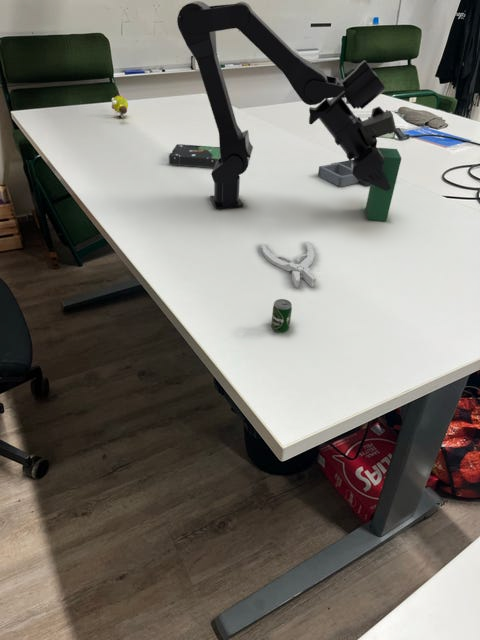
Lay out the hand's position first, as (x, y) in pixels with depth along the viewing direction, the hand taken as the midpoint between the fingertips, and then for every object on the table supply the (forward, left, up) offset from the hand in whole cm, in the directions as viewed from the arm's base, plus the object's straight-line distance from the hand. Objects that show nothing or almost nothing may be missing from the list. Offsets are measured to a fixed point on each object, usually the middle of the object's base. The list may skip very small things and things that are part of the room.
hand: (386, 181), depth 103 cm
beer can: (-34, +36, -8) cm, 50 cm away
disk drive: (+42, +32, -8) cm, 54 cm away
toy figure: (+90, +49, -8) cm, 103 cm away
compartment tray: (+23, -5, -8) cm, 25 cm away
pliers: (-17, +27, -8) cm, 33 cm away
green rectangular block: (0, +1, -8) cm, 8 cm away
